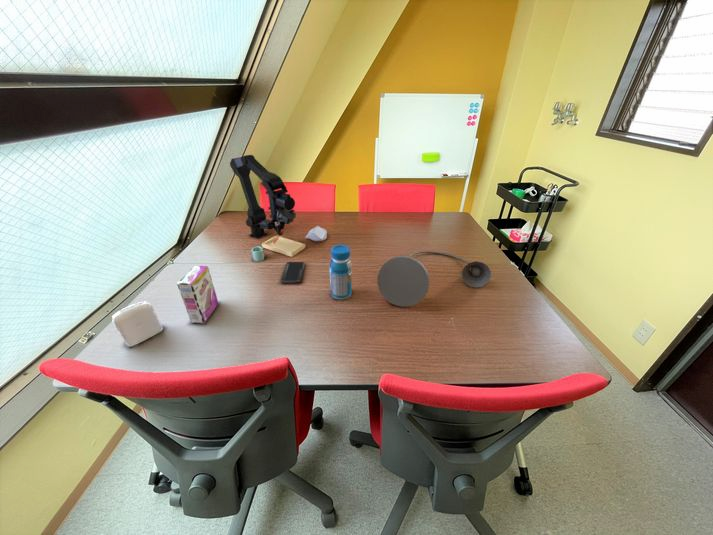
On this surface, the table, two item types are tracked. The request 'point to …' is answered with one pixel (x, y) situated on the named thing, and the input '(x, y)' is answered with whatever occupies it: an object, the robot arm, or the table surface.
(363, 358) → the table surface
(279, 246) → the tray
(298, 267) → the phone
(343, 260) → the beverage bottle
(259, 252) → the cup
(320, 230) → the crumpled paper
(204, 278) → the candy bar box
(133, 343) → the photo printer
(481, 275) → the desk lamp
